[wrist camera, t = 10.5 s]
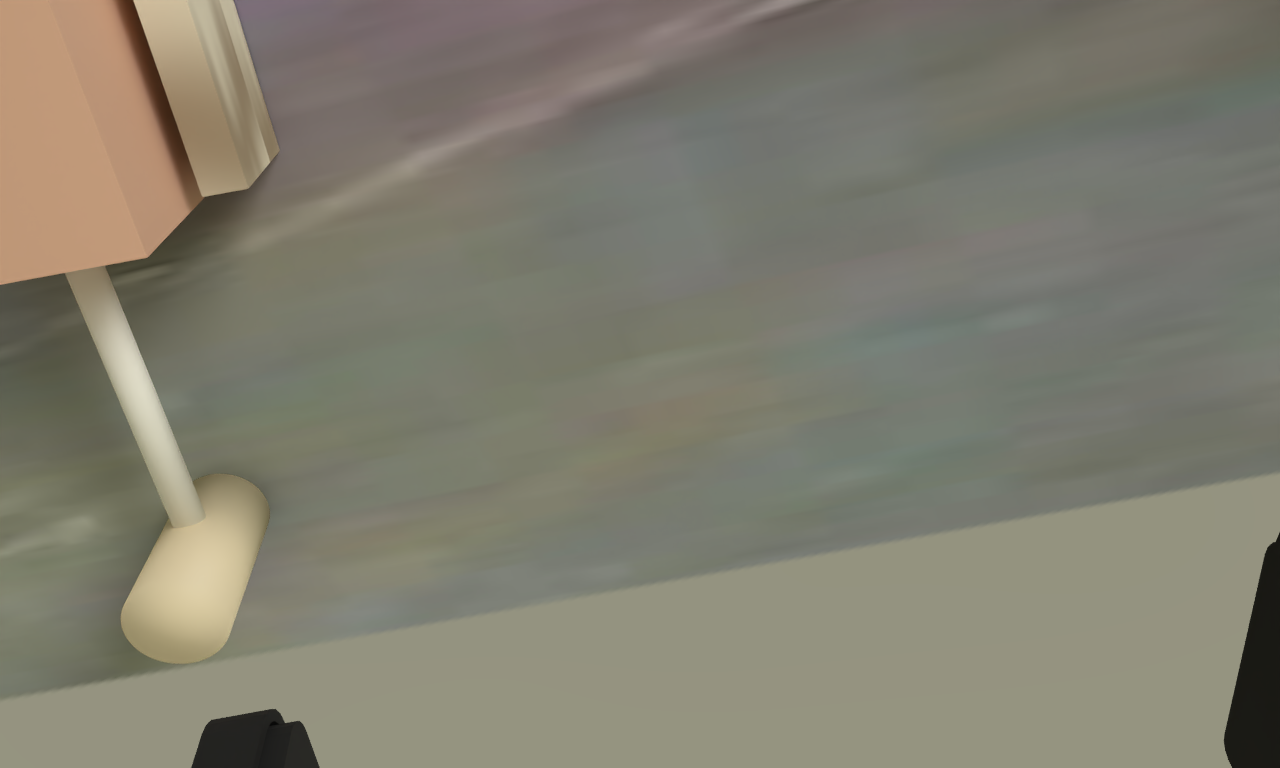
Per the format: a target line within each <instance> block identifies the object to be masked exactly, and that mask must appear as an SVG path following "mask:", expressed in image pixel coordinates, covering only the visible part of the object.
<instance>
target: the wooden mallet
mask: <svg viewBox="0 0 1280 768" xmlns="http://www.w3.org/2000/svg"><path fill="white" fill-rule="evenodd" d="M205 197H206V196H205ZM205 197H202V195H201V192H200V189H199V187H198V184H197V181H196V178H195V175H194V172H193V169H192V167H191V164H190V161H189V158H188V155H187V152H186V149H185V147H184V144H183V141H182V138H181V135H180V132H179V129H178V126H177V124H176V121H175V118H174V115H173V112H172V109H171V106H170V104H169V101H168V98H167V95H166V92H165V89H164V86H163V84H162V81H161V78H160V75H159V72H158V69H157V66H156V64H155V61H154V58H153V55H152V52H151V49H150V46H149V44H148V41H147V38H146V35H145V32H144V29H143V26H142V24H141V21H140V18H139V15H138V12H137V9H136V6H135V4H134V1H133V0H0V285H1V284H7V283H12V282H18V281H23V280H28V279H34V278H39V277H45V276H50V275H56V274H61V273H65V275H66V277H67V280H68V282H69V284H70V287H71V289H72V291H73V294H74V296H75V298H76V301H77V303H78V305H79V308H80V310H81V312H82V315H83V317H84V319H85V322H86V324H87V327H88V329H89V331H90V334H91V336H92V338H93V341H94V343H95V345H96V348H97V350H98V352H99V355H100V357H101V359H102V362H103V364H104V366H105V369H106V371H107V374H108V376H109V378H110V381H111V383H112V385H113V388H114V390H115V392H116V395H117V397H118V399H119V402H120V404H121V406H122V409H123V411H124V413H125V416H126V418H127V420H128V423H129V425H130V428H131V430H132V432H133V435H134V437H135V439H136V442H137V444H138V446H139V449H140V451H141V453H142V456H143V458H144V460H145V463H146V465H147V467H148V470H149V472H150V474H151V477H152V479H153V482H154V484H155V486H156V489H157V491H158V493H159V496H160V498H161V500H162V503H163V505H164V507H165V510H166V512H167V514H168V517H169V518H168V520H167V522H166V524H165V526H164V528H163V530H162V532H161V534H160V536H159V538H158V540H157V542H156V544H155V546H154V548H153V550H152V551H151V553H150V555H149V557H148V559H147V561H146V563H145V565H144V567H143V569H142V571H141V573H140V575H139V577H138V579H137V581H136V583H135V585H134V586H133V588H132V590H131V592H130V594H129V596H128V598H127V600H126V602H125V604H124V606H123V609H122V612H121V625H122V629H123V632H124V634H125V636H126V638H127V639H128V640H129V642H130V643H131V644H132V645H133V646H134V647H135V648H136V649H137V650H139V651H140V652H141V653H143V654H145V655H146V656H148V657H150V658H153V659H155V660H158V661H162V662H166V663H173V664H187V663H194V662H198V661H201V660H204V659H206V658H208V657H210V656H212V655H214V654H215V653H217V652H218V651H219V650H220V649H221V648H222V647H223V646H224V644H225V643H226V641H227V640H228V637H229V635H230V632H231V629H232V626H233V623H234V620H235V618H236V615H237V612H238V609H239V606H240V603H241V600H242V598H243V595H244V592H245V589H246V586H247V583H248V580H249V578H250V575H251V572H252V569H253V566H254V563H255V560H256V558H257V555H258V552H259V549H260V546H261V543H262V540H263V538H264V535H265V532H266V529H267V526H268V523H269V519H270V509H269V505H268V502H267V500H266V498H265V496H264V495H263V493H262V492H261V491H260V490H259V489H258V488H257V487H256V486H255V485H253V484H252V483H251V482H249V481H247V480H245V479H243V478H241V477H238V476H234V475H229V474H211V475H206V476H203V477H200V478H198V479H196V480H194V481H193V482H192V479H191V477H190V474H189V472H188V469H187V467H186V464H185V462H184V460H183V457H182V455H181V452H180V450H179V447H178V445H177V442H176V440H175V437H174V435H173V432H172V430H171V428H170V425H169V423H168V420H167V418H166V415H165V413H164V410H163V408H162V405H161V403H160V400H159V398H158V395H157V393H156V391H155V388H154V386H153V383H152V381H151V378H150V376H149V373H148V371H147V368H146V366H145V363H144V361H143V359H142V356H141V354H140V351H139V349H138V346H137V344H136V341H135V339H134V336H133V334H132V331H131V329H130V326H129V324H128V322H127V319H126V317H125V314H124V312H123V309H122V307H121V304H120V302H119V299H118V297H117V294H116V292H115V290H114V287H113V285H112V282H111V280H110V277H109V275H108V272H107V270H106V267H105V265H110V264H115V263H121V262H126V261H132V260H137V259H143V258H148V257H149V255H150V254H151V253H152V252H153V251H154V250H155V249H156V248H157V247H158V246H159V245H160V244H161V243H162V242H163V241H164V240H165V239H166V238H167V237H168V235H169V234H170V233H171V232H172V231H173V230H174V229H175V228H176V227H177V226H178V225H179V224H180V223H181V222H182V221H183V220H184V219H185V218H186V217H187V215H188V214H189V213H190V212H191V211H192V210H193V209H194V208H195V207H196V206H197V205H198V204H199V203H200V202H201V201H202V200H203V199H204V198H205Z"/></svg>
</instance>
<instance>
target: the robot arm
mask: <svg viewBox="0 0 1280 768" xmlns="http://www.w3.org/2000/svg"><path fill="white" fill-rule="evenodd" d="M1224 745H1225V751H1226V754H1227V756H1228V760H1229V762H1230V764H1231V766H1232V768H1280V533H1279V535H1278V538H1277V540H1276V542H1274V543H1272V544H1271V545H1270V546H1269V547H1268V548H1267V551H1266V553H1265V557H1264V561H1263V565H1262V570H1261V574H1260V579H1259V583H1258V588H1257V592H1256V597H1255V601H1254V605H1253V610H1252V615H1251V619H1250V623H1249V628H1248V632H1247V637H1246V641H1245V646H1244V650H1243V654H1242V659H1241V663H1240V668H1239V672H1238V677H1237V681H1236V686H1235V690H1234V695H1233V699H1232V704H1231V708H1230V713H1229V717H1228V721H1227V726H1226V730H1225V736H1224ZM192 768H319V765H318V762H317V759H316V757H315V754H314V751H313V748H312V746H311V743H310V740H309V737H308V735H307V732H306V730H305V727H304V726H303V724H302V723H301V722H300V721H296V722H290V723H285V722H284V720H283V718H282V716H281V714H280V713H279V712H278V711H277V710H276V709H269V710H264V711H259V712H253V713H248V714H242V715H237V716H231V717H226V718H220V719H215V720H211V721H210V722H209V723H208V724H207V725H206V727H205V729H204V731H203V733H202V736H201V739H200V742H199V745H198V748H197V752H196V755H195V758H194V761H193V764H192Z"/></svg>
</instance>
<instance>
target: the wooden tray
mask: <svg viewBox="0 0 1280 768" xmlns="http://www.w3.org/2000/svg"><path fill="white" fill-rule="evenodd" d="M133 1H134V4H135V6H136V9H137V12H138V15H139V18H140V21H141V24H142V26H143V29H144V32H145V35H146V38H147V41H148V44H149V46H150V49H151V52H152V55H153V58H154V61H155V64H156V66H157V69H158V72H159V75H160V78H161V81H162V84H163V86H164V89H165V92H166V95H167V98H168V101H169V104H170V106H171V109H172V112H173V115H174V118H175V121H176V124H177V126H178V129H179V132H180V135H181V138H182V141H183V144H184V147H185V149H186V152H187V155H188V158H189V161H190V164H191V167H192V169H193V172H194V175H195V178H196V181H197V184H198V187H199V189H200V192H201V195H202V197H205V196H211V195H216V194H222V193H227V192H233V191H238V190H244V189H249V187H250V186H251V185H252V184H253V183H254V181H255V180H256V179H257V178H258V177H259V175H260V174H261V173H262V172H263V170H264V169H265V168H266V167H267V166H268V164H269V163H270V162H271V161H272V160H273V158H274V157H275V156H276V155H277V154H278V152H279V151H280V150H279V147H278V143H277V140H276V137H275V134H274V130H273V127H272V124H271V121H270V117H269V114H268V111H267V108H266V104H265V101H264V98H263V95H262V91H261V88H260V85H259V82H258V79H257V75H256V72H255V69H254V66H253V62H252V59H251V56H250V53H249V49H248V46H247V43H246V40H245V36H244V33H243V30H242V27H241V23H240V20H239V17H238V14H237V10H236V7H235V4H234V1H233V0H133Z"/></svg>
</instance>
